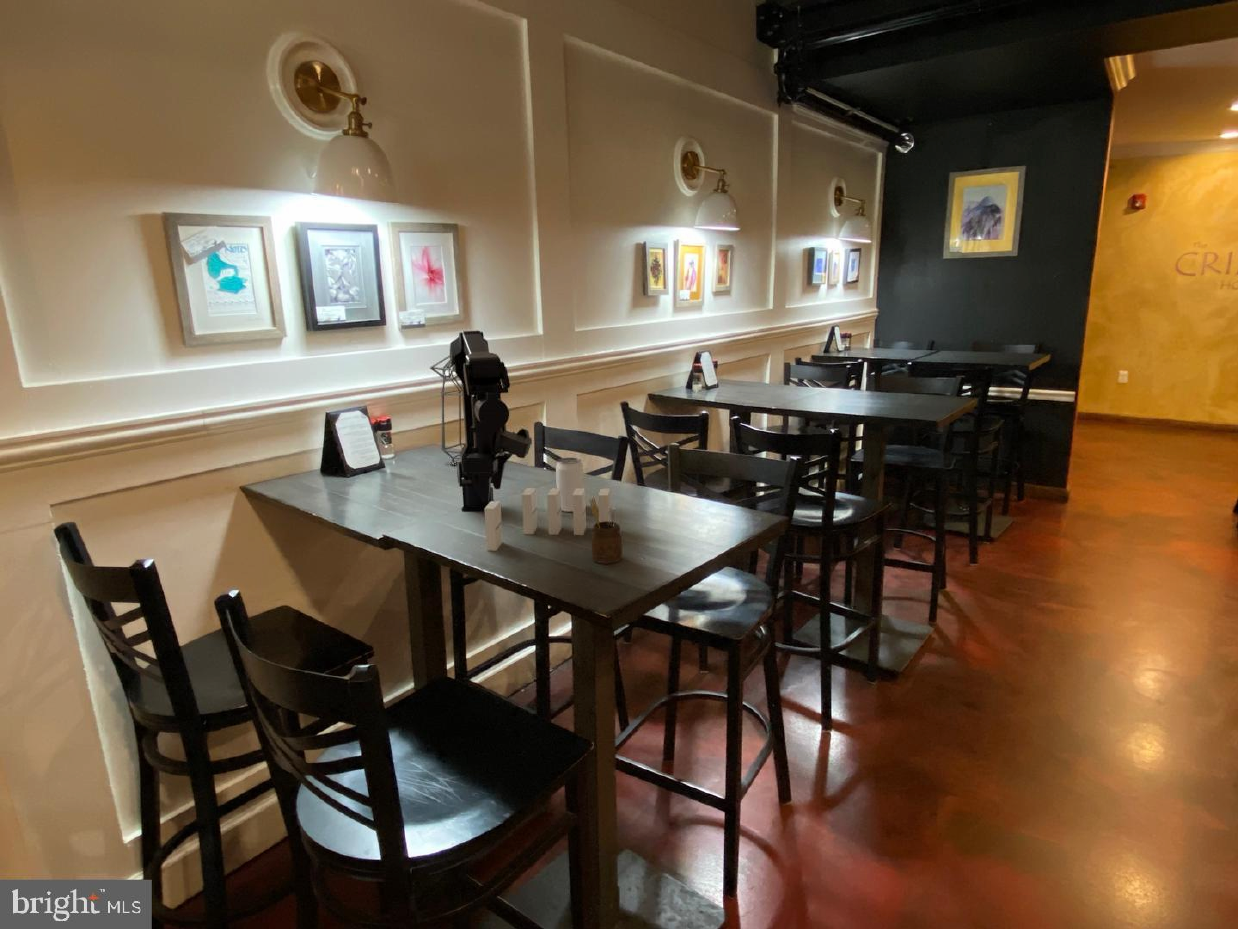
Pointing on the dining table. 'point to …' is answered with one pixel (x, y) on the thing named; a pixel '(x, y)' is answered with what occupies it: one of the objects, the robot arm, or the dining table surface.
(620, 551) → the utensil holder
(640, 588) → the dining table surface
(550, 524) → the domino
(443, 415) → the geometric lantern
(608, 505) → the domino
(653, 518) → the dining table surface
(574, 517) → the domino
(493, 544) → the domino
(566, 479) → the can
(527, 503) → the domino
